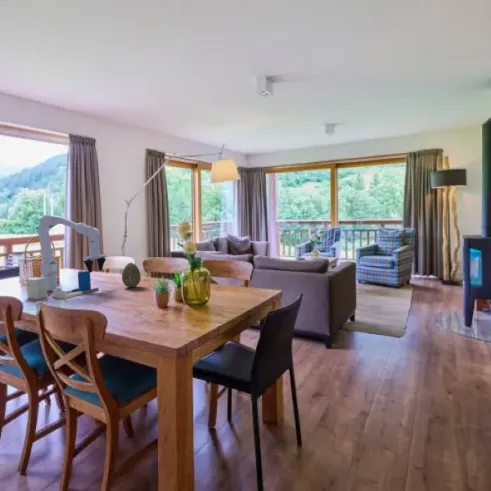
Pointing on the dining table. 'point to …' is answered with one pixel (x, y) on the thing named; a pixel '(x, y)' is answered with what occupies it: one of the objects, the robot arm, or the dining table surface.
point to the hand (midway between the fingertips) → (95, 271)
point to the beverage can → (84, 280)
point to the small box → (36, 288)
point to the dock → (62, 293)
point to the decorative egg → (131, 275)
